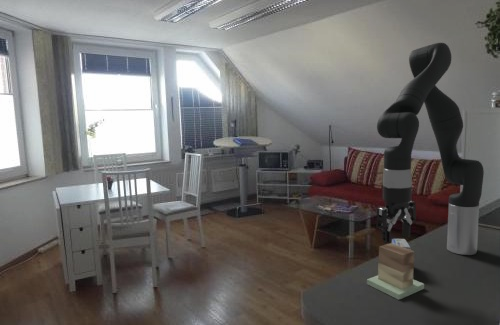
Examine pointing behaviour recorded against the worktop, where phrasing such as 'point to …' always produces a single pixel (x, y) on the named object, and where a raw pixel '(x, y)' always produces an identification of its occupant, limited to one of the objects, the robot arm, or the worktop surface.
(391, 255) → the walnut brick
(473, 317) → the worktop surface
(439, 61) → the robot arm
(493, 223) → the worktop surface
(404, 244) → the medicine box
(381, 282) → the baseplate
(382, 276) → the birch brick
